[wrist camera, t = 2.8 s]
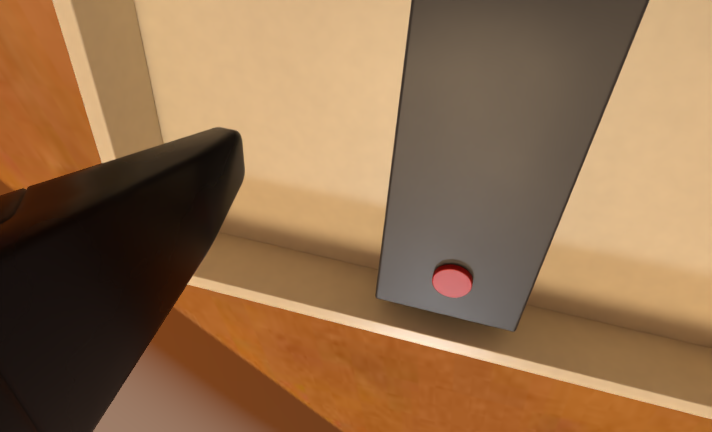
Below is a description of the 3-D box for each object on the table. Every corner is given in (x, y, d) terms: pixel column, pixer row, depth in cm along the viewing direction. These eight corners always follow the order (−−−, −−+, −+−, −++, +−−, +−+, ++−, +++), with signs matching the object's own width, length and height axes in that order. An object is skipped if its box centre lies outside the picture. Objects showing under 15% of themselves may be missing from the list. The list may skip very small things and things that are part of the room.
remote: (473, -352, 9) (456, -399, 7) (749, -346, 8) (817, -398, 6) (389, 252, 19) (373, 303, 17) (516, 281, 18) (514, 338, 16)
